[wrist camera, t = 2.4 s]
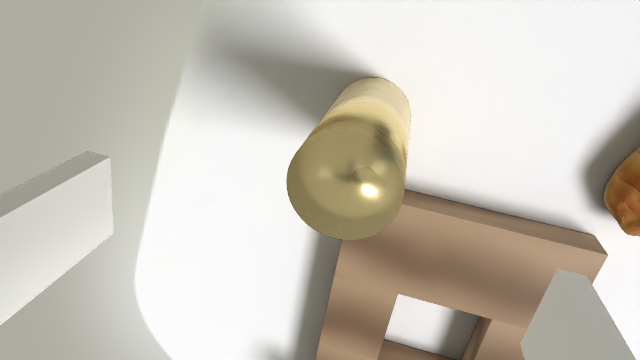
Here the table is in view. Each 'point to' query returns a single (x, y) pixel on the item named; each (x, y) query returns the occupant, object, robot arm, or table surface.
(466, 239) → the jig
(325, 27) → the table surface
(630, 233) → the pastry
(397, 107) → the brass cylinder rod
